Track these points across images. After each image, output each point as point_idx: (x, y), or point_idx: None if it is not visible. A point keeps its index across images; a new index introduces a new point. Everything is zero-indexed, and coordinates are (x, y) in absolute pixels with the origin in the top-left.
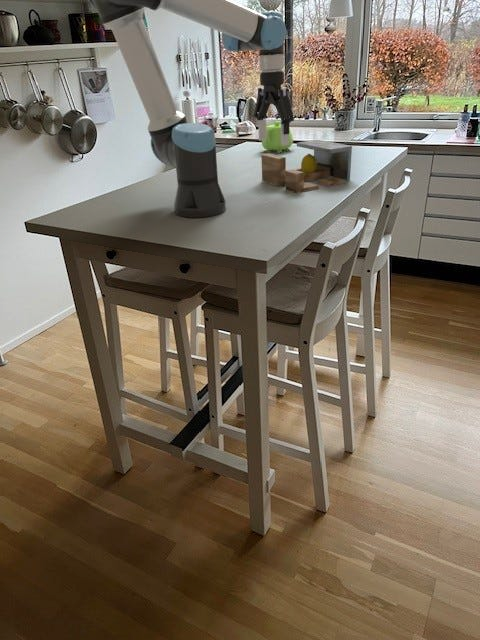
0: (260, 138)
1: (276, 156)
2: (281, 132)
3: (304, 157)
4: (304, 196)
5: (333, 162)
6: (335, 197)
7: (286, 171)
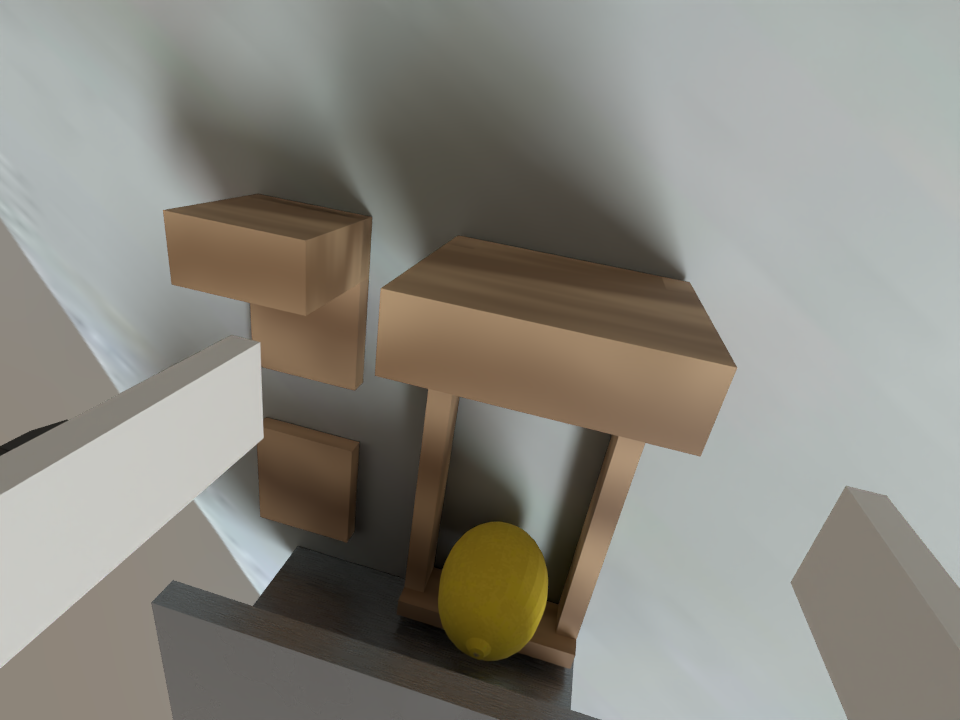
0: (858, 520)
1: (485, 365)
2: (90, 420)
3: (495, 610)
4: (167, 168)
5: (374, 645)
6: (72, 266)
7: (293, 237)
